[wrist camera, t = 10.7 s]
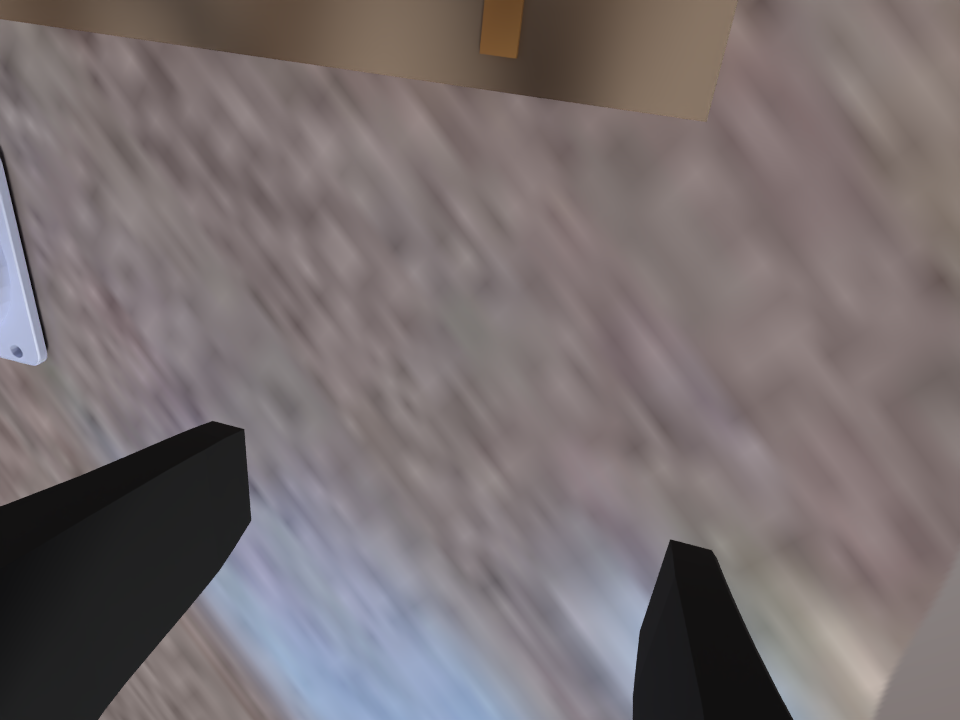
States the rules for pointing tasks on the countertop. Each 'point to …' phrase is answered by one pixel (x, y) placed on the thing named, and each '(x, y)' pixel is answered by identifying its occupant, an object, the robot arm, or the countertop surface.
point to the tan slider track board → (449, 41)
